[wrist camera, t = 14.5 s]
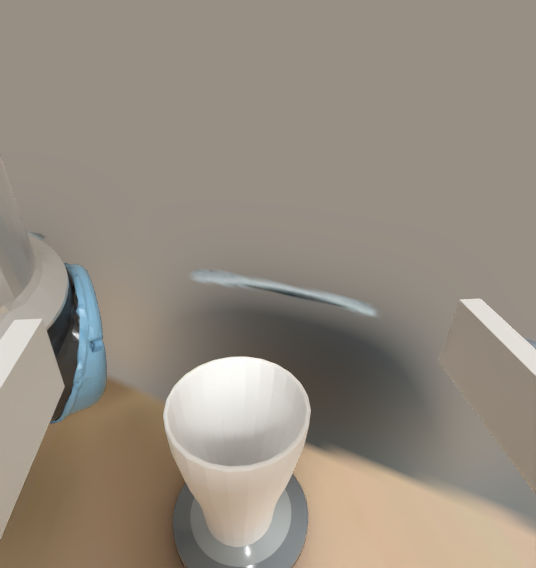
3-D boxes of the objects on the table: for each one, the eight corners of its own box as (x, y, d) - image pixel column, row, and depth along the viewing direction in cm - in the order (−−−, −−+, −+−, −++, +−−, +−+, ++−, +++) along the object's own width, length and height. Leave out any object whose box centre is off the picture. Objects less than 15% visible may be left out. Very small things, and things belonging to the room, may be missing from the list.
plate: (145, 527, 35) (143, 519, 34) (237, 438, 43) (236, 431, 42) (247, 636, 28) (247, 629, 28) (331, 508, 36) (333, 500, 36)
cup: (312, 564, 31) (331, 456, 24) (179, 592, 29) (159, 483, 23) (283, 451, 40) (290, 349, 33) (179, 467, 38) (165, 363, 31)
